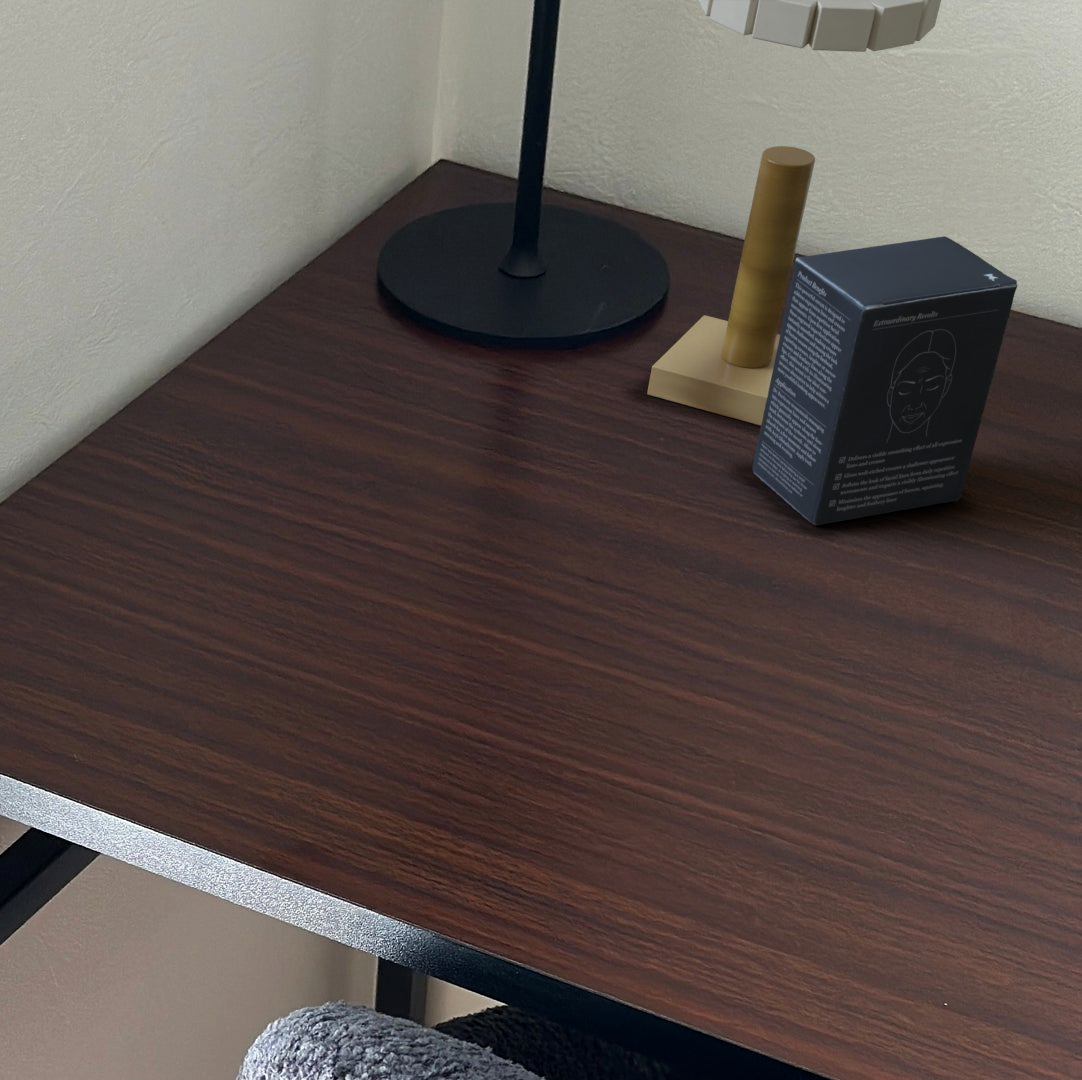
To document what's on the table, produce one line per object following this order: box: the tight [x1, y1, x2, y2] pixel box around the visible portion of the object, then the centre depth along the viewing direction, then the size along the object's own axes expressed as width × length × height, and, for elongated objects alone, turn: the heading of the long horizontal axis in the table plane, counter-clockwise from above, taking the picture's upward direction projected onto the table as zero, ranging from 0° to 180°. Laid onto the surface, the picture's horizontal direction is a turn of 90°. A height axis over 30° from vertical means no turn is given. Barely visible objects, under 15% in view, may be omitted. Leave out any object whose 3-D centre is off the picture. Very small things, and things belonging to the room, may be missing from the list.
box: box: [751, 235, 1018, 526], centre depth 105 cm, size 8×6×11 cm
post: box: [646, 145, 816, 427], centre depth 112 cm, size 7×7×12 cm
